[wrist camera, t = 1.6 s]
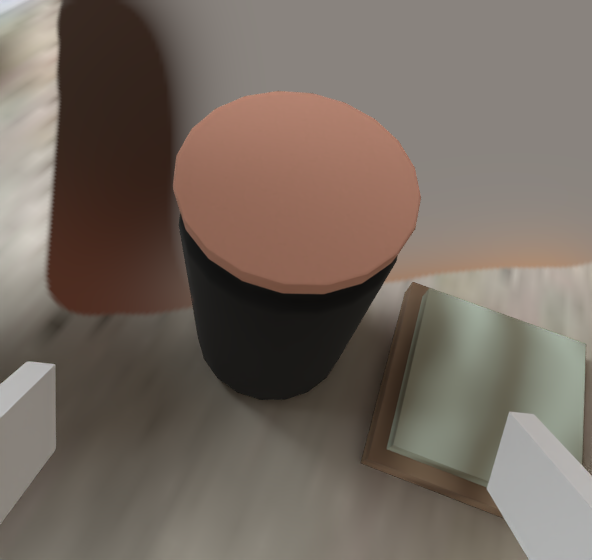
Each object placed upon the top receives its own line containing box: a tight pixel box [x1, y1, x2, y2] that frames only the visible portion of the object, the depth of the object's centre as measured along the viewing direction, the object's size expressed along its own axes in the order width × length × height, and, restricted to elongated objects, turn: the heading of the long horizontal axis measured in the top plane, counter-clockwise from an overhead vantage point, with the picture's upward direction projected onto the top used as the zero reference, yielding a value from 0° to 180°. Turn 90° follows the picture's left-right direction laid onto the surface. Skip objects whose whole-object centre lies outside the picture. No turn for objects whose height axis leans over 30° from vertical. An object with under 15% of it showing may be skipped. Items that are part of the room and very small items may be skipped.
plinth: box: [361, 282, 586, 518], centre depth 34 cm, size 14×14×4 cm
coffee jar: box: [173, 91, 421, 400], centre depth 28 cm, size 11×11×18 cm
